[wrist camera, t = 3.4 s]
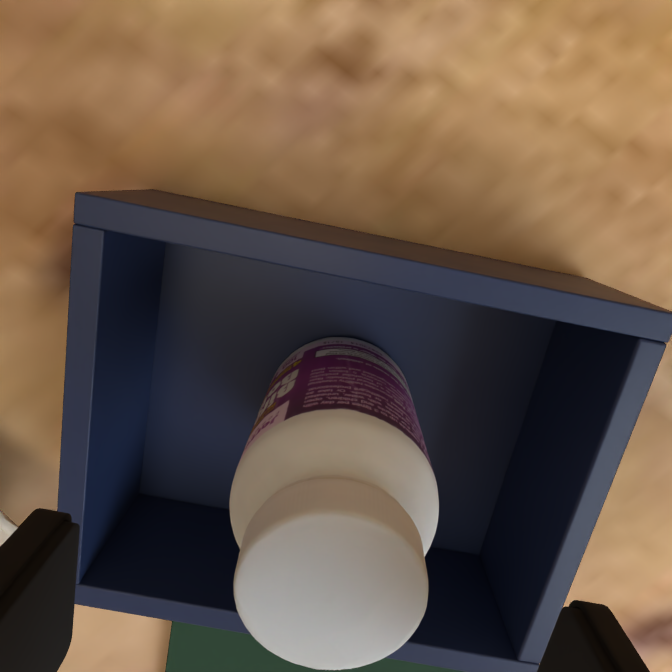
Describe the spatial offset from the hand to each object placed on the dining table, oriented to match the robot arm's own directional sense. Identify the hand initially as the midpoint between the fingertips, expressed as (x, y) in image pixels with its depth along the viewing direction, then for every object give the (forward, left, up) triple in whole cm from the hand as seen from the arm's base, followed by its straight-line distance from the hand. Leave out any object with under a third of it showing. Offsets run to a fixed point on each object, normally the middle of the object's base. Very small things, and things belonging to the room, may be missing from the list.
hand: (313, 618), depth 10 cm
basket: (0, 0, -11) cm, 11 cm away
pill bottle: (0, 0, -10) cm, 10 cm away
